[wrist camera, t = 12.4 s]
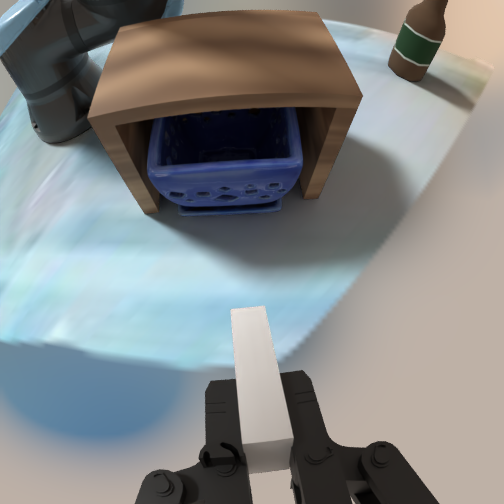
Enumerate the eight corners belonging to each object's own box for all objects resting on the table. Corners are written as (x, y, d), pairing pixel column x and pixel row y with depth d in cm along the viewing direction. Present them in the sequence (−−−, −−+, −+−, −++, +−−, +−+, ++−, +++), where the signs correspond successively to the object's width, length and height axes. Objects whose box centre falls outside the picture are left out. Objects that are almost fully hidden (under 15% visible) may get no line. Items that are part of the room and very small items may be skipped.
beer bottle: (426, 87, 45) (477, -7, 23) (392, 77, 45) (437, -26, 22) (414, 63, 48) (455, -24, 25) (381, 54, 48) (417, -41, 25)
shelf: (317, 198, 36) (362, 95, 20) (144, 214, 35) (87, 118, 19) (296, 112, 41) (317, 12, 25) (151, 124, 39) (120, 27, 23)
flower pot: (177, 140, 39) (160, 73, 27) (277, 135, 39) (287, 67, 28) (171, 232, 34) (142, 177, 23) (289, 226, 35) (309, 168, 24)
